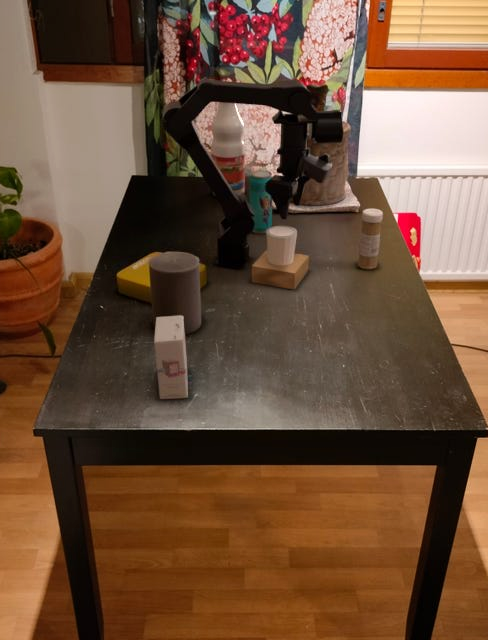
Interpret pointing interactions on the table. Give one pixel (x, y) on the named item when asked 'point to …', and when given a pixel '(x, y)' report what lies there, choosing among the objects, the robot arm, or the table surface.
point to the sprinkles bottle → (370, 238)
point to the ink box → (171, 357)
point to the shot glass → (281, 244)
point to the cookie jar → (335, 187)
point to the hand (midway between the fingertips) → (290, 212)
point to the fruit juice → (229, 145)
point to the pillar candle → (176, 288)
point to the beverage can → (260, 201)
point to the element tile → (144, 279)
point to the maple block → (280, 271)
